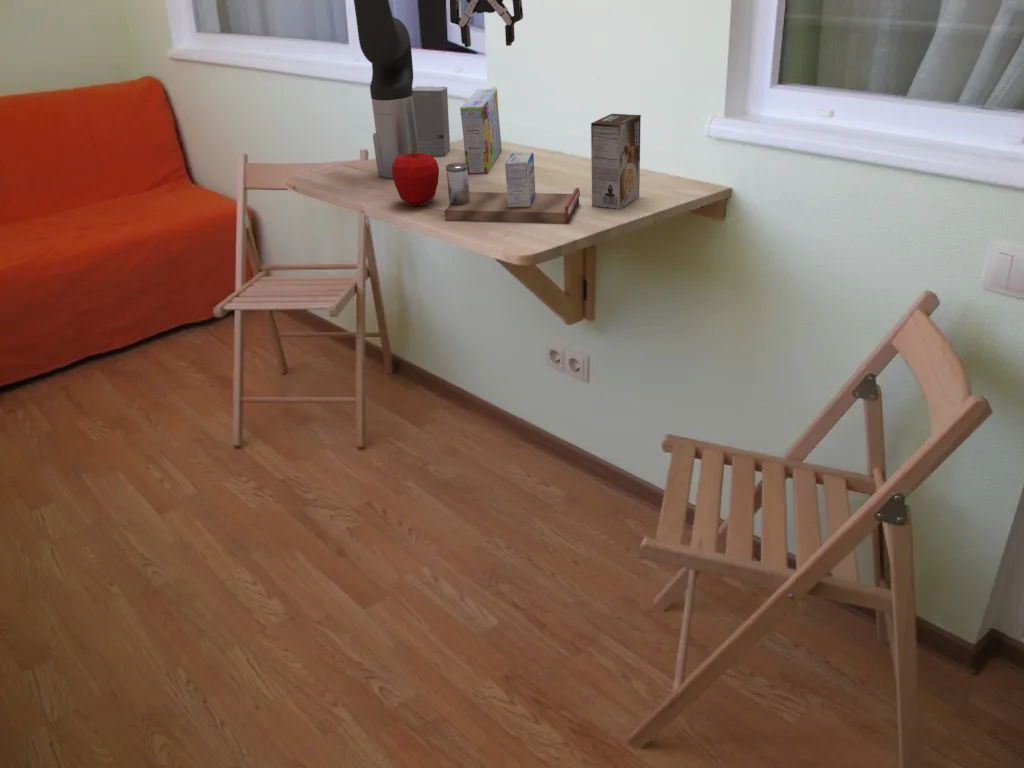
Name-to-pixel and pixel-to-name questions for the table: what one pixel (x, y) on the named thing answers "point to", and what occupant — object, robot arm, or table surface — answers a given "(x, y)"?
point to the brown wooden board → (497, 209)
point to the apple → (415, 177)
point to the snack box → (481, 130)
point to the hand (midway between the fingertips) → (488, 46)
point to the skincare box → (432, 119)
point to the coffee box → (615, 160)
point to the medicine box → (520, 179)
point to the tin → (458, 183)
